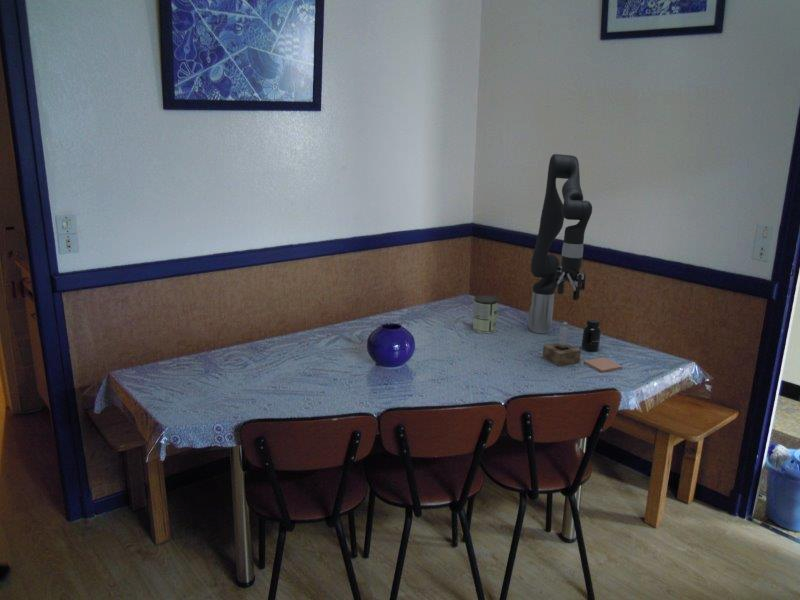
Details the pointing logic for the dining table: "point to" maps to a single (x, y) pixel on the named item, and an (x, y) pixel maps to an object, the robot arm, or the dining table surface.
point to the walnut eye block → (561, 354)
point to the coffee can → (485, 313)
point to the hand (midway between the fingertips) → (567, 296)
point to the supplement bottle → (591, 335)
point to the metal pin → (563, 336)
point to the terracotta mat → (603, 364)
